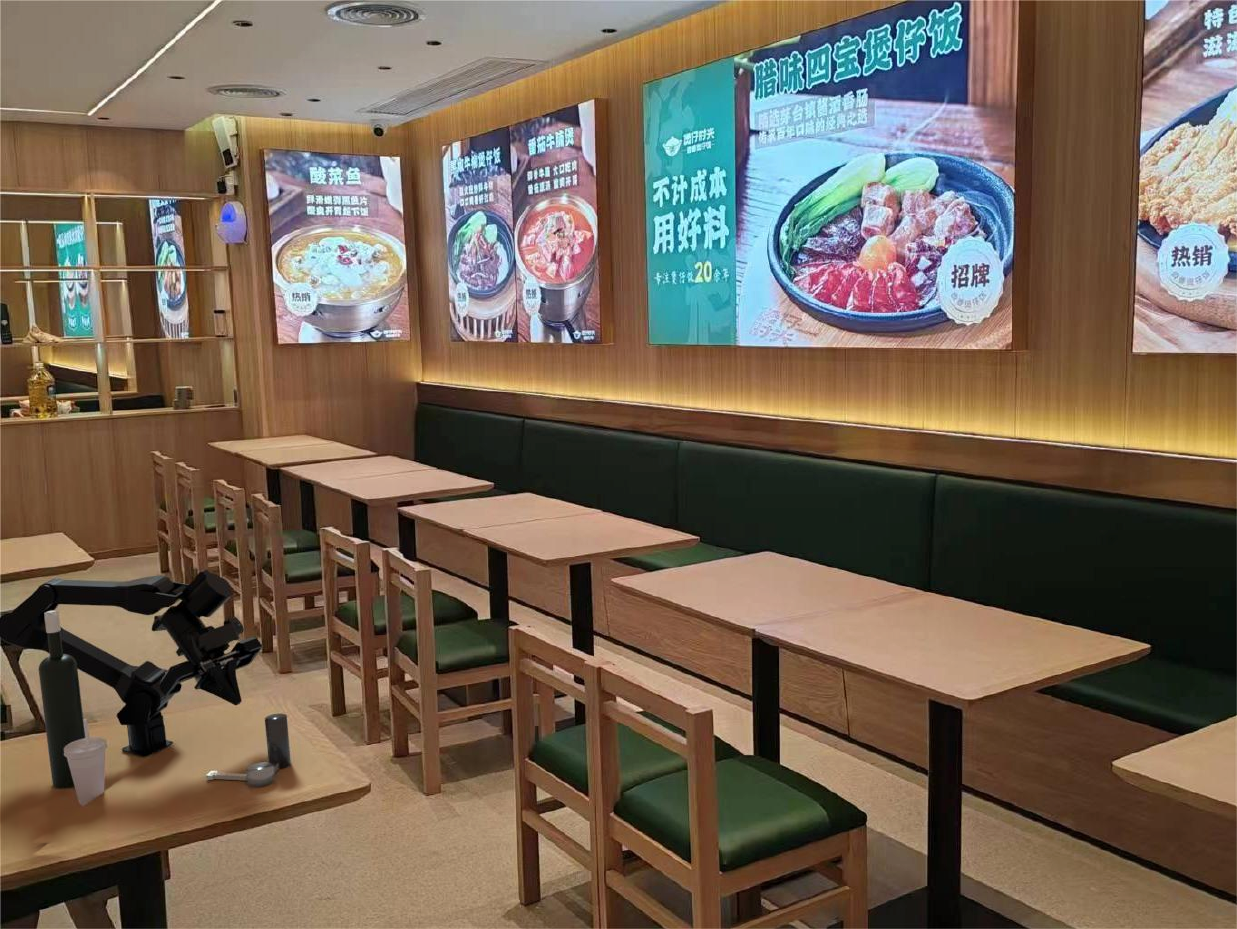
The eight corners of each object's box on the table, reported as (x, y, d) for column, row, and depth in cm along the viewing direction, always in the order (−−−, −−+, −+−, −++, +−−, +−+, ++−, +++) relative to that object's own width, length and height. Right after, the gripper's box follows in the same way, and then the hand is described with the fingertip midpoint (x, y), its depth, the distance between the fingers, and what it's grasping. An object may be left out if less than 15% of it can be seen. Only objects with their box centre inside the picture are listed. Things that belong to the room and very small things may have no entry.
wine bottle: (90, 783, 188) (70, 613, 183) (52, 791, 186) (31, 618, 181) (89, 771, 193) (70, 604, 188) (52, 778, 191) (32, 610, 186)
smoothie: (96, 810, 178) (86, 728, 176) (61, 808, 179) (50, 726, 177) (121, 792, 184) (112, 712, 182) (87, 790, 185) (77, 711, 183)
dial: (266, 788, 181) (262, 738, 180) (202, 784, 183) (197, 735, 182) (296, 760, 191) (292, 714, 190) (235, 757, 193) (230, 711, 192)
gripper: (163, 621, 185) (214, 695, 182) (251, 593, 201) (299, 660, 197) (138, 660, 191) (187, 732, 187) (225, 630, 206) (272, 695, 203)
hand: (238, 703), depth 193 cm, fingers closed
